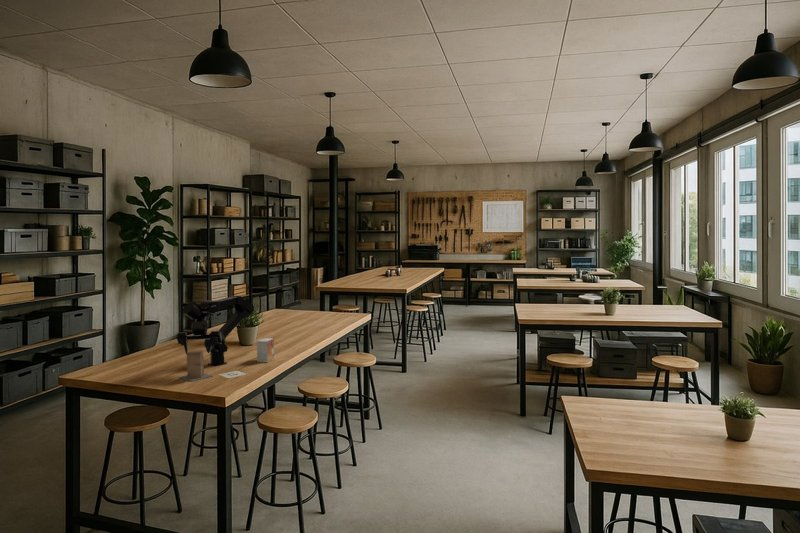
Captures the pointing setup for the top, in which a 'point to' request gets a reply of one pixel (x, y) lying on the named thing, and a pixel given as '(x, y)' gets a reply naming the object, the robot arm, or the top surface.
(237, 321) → the robot arm
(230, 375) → the card
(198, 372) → the walnut block
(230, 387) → the top surface
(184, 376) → the rubber mat
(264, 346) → the small box
